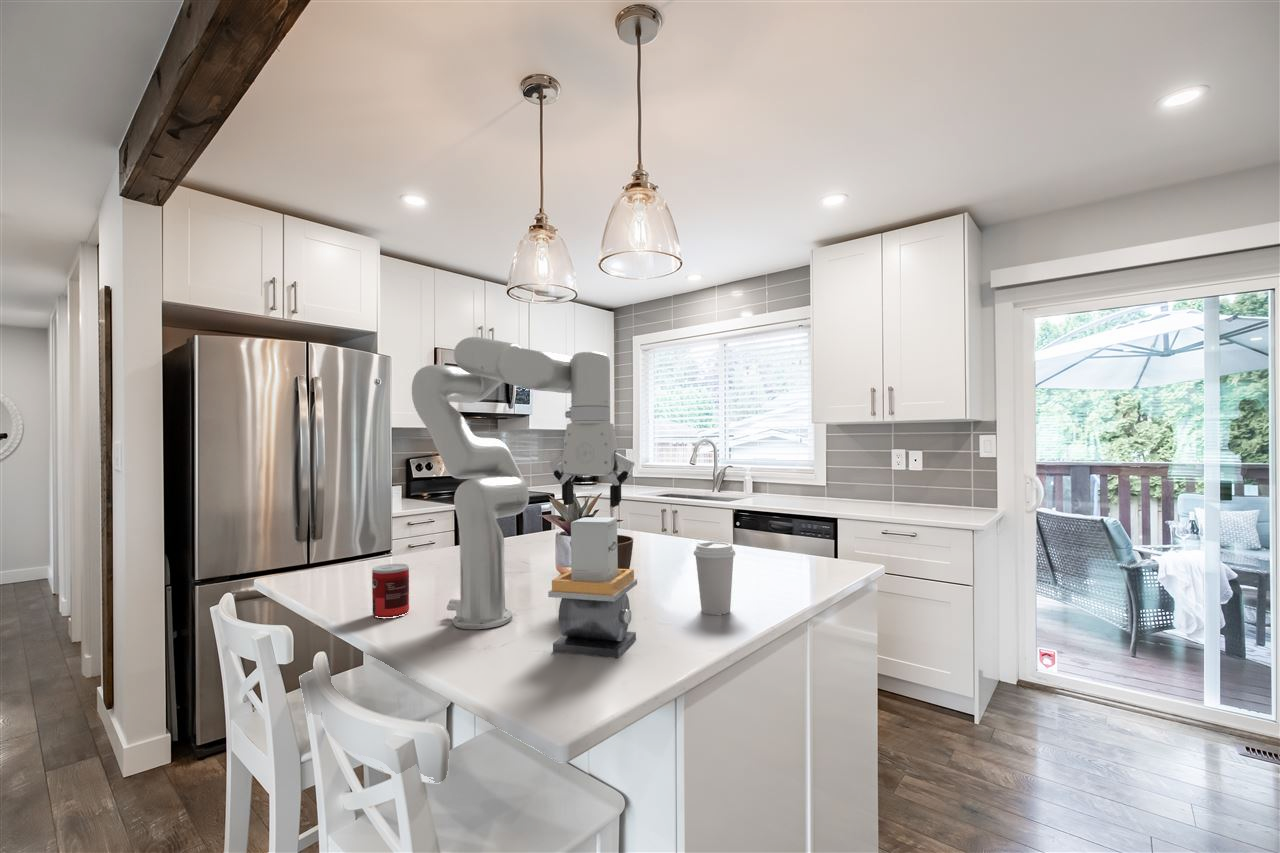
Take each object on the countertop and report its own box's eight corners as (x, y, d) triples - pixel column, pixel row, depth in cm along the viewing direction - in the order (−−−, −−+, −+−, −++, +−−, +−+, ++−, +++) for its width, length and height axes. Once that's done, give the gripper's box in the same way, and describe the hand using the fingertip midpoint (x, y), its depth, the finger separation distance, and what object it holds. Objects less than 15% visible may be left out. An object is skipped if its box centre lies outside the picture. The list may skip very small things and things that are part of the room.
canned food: (384, 609, 138) (384, 563, 139) (415, 610, 137) (415, 563, 138) (365, 619, 131) (364, 570, 131) (398, 620, 130) (397, 570, 130)
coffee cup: (713, 602, 138) (711, 539, 139) (745, 610, 131) (743, 544, 132) (686, 611, 132) (684, 545, 132) (718, 620, 125) (716, 550, 125)
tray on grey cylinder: (549, 654, 106) (548, 580, 107) (578, 632, 119) (577, 565, 119) (618, 661, 102) (616, 584, 103) (640, 637, 115) (639, 569, 115)
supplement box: (608, 590, 106) (607, 521, 107) (570, 589, 108) (569, 521, 109) (619, 581, 114) (618, 516, 114) (583, 579, 115) (582, 516, 116)
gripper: (541, 416, 111) (541, 506, 111) (626, 415, 106) (627, 509, 105) (558, 418, 118) (559, 502, 118) (639, 416, 113) (640, 504, 113)
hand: (591, 505), depth 112 cm, fingers open, 9 cm apart
